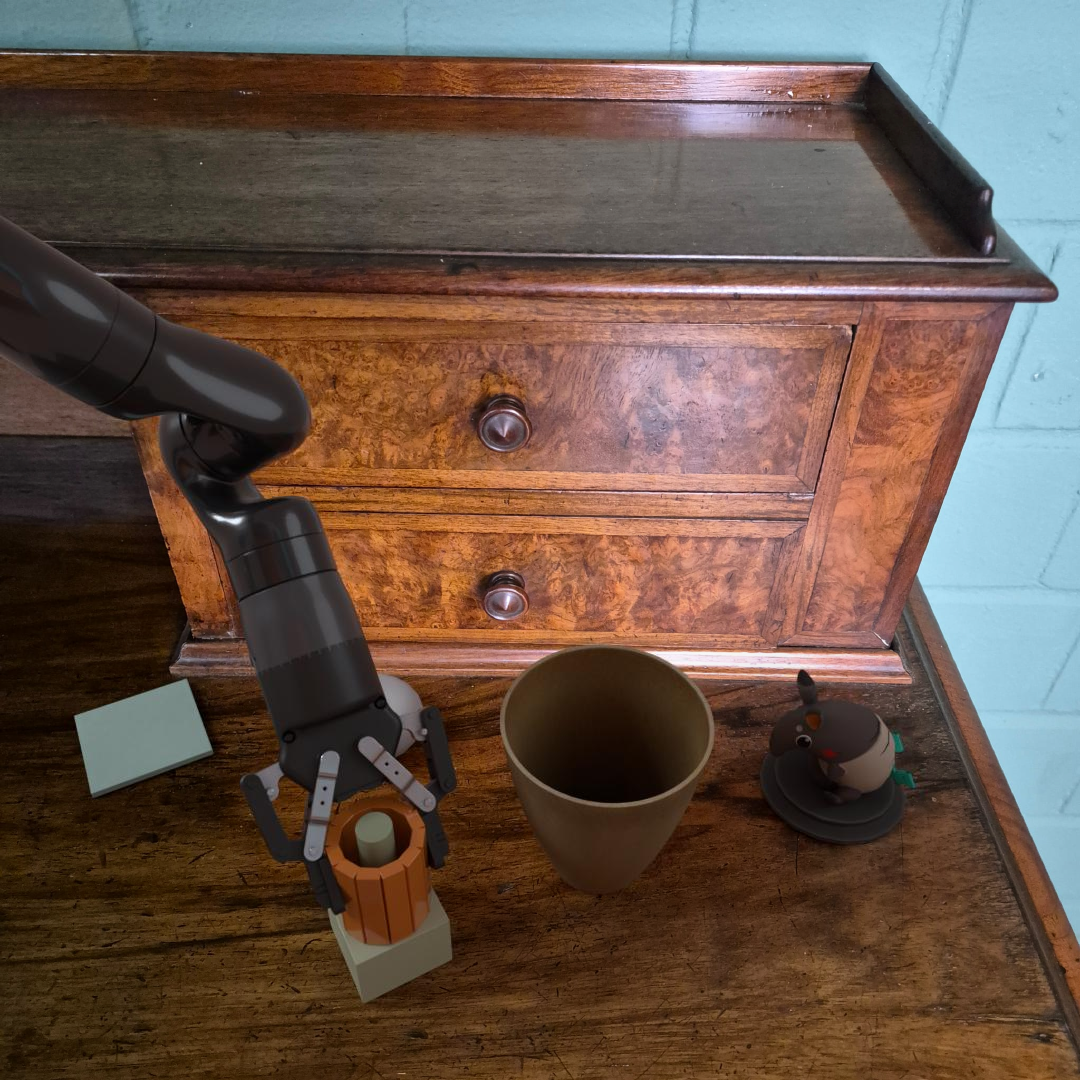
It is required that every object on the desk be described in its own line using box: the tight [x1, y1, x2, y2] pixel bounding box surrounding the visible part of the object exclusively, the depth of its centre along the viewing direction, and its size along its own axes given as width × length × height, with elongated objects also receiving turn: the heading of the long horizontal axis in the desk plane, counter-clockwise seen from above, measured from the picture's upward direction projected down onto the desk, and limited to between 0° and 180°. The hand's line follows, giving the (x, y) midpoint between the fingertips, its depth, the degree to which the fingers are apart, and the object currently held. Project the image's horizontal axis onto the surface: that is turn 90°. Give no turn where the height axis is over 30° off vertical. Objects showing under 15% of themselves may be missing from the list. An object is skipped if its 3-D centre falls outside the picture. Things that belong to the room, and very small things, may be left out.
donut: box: [377, 673, 424, 759], centre depth 85 cm, size 10×4×10 cm
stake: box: [327, 812, 453, 1005], centre depth 65 cm, size 7×7×14 cm
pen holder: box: [324, 796, 432, 945], centre depth 64 cm, size 6×6×8 cm
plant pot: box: [499, 643, 715, 895], centre depth 71 cm, size 15×15×16 cm
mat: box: [73, 678, 214, 799], centre depth 85 cm, size 10×10×1 cm
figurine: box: [758, 669, 916, 845], centre depth 77 cm, size 11×12×12 cm
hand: (389, 888), depth 63 cm, fingers closed on pen holder, 6 cm apart
